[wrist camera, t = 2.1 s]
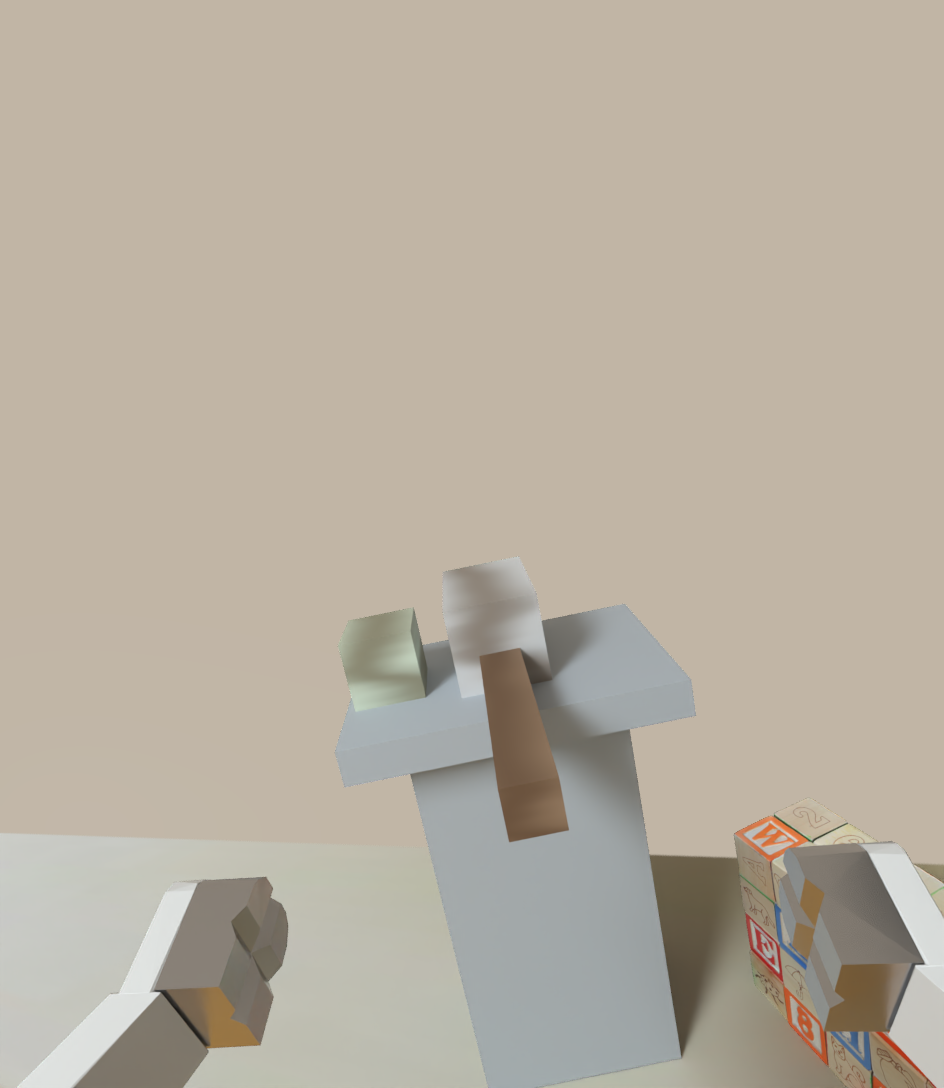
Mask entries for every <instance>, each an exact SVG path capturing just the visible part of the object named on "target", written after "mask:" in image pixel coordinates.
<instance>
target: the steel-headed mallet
mask: <svg viewBox="0 0 944 1088" xmlns="http://www.w3.org/2000/svg"><path fill="white" fill-rule="evenodd" d="M443 616H444V621H445V625H446V630H447V634H448V639H449V643H450V648H451V652H452V657H453V661H454V666H455V670H456V675H457V679H458V684H459V688H460V693H461V697H462V698H466V697H471V696H476V695H481V694H485V701H486V708H487V715H488V723H489V730H490V737H491V744H492V751H493V759H494V766H495V773H496V780H497V787H498V793H499V797H500V802H501V807H502V811H503V816H504V821H505V825H506V830H507V835H508V839H509V842H514V841H519V840H524V839H529V838H534V837H539V836H544V835H548V834H553V833H558V832H563V831H568V830H569V827H568V822H567V816H566V811H565V806H564V800H563V795H562V790H561V785H560V779H559V775H558V772H557V769H556V765H555V762H554V759H553V755H552V752H551V749H550V746H549V742H548V739H547V736H546V732H545V729H544V726H543V723H542V719H541V716H540V713H539V709H538V706H537V703H536V700H535V696H534V693H533V690H532V686H531V684H535V683H540V682H545V681H550V680H552V675H551V670H550V664H549V659H548V653H547V648H546V643H545V637H544V632H543V626H542V621H541V616H540V610H539V606H538V599H537V594H536V591H535V589H534V587H533V585H532V583H531V581H530V579H529V577H528V574H527V572H526V570H525V568H524V566H523V564H522V562H521V560H520V558H519V557H513V558H509V559H504V560H499V561H494V562H489V563H484V564H480V565H474V566H469V567H465V568H460V569H455V570H450V571H445V572H443Z"/></svg>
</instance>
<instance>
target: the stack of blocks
mask: <svg viewBox="0 0 944 1088" xmlns="http://www.w3.org/2000/svg"><path fill="white" fill-rule="evenodd" d="M734 839H735V845H736V852H737V859H738V865H739V878H740V883H741V886H740V887H741V893H742V900H743V907H744V910H745V911H746V912H745V913H746V923H747V929H748V936H749V942H750V948H751V950H750V957H751V965H752V970H753V977H754V983H755V986H756V987H757V988H758V989H759V990H760V991H761V992H762V993H763V995H764V996H765V997H766V998H767V999H768V1000H769V1001H770V1002H771V1003H772V1004H773V1005H774V1006H775V1008H776V1009H777V1010H778V1011H779V1012H780V1013H781V1014H782V1015H783V1016H784V1017H785V1018H786V1020H787V1021H788V1022H789V1024H790V1026H791V1027H792V1028H793V1029H794V1030H795V1031H796V1032H797V1033H798V1034H799V1035H800V1036H801V1038H802V1039H803V1040H804V1041H805V1042H806V1043H807V1044H808V1045H809V1046H810V1047H811V1048H812V1049H813V1051H814V1052H815V1053H816V1054H817V1055H818V1056H819V1057H820V1058H821V1059H822V1060H823V1061H824V1063H825V1064H827V1065H828V1066H829V1067H830V1069H831V1070H832V1071H833V1072H834V1073H835V1074H836V1076H837V1077H838V1078H839V1079H840V1080H841V1081H842V1082H843V1083H844V1084H845V1086H846V1087H847V1088H936V1086H935V1085H934V1084H933V1083H932V1082H931V1081H930V1080H929V1079H928V1078H927V1077H926V1076H925V1075H924V1073H923V1072H922V1071H921V1070H920V1069H919V1068H918V1067H917V1066H916V1065H915V1064H914V1063H913V1062H912V1061H911V1059H910V1058H909V1057H908V1056H907V1055H906V1054H905V1053H904V1052H903V1051H902V1050H901V1049H900V1048H899V1046H898V1045H897V1044H896V1043H895V1042H894V1041H893V1040H892V1039H891V1038H890V1037H889V1036H888V1035H889V1032H824V1031H823V1028H822V1025H821V1023H820V1020H819V1017H818V1015H817V1012H816V1009H815V1007H814V1004H813V1001H812V999H811V996H810V993H809V991H808V988H807V985H806V983H805V980H804V978H805V973H806V968H807V963H808V960H807V959H806V958H805V957H803V956H802V955H801V954H800V953H799V952H798V951H797V950H796V949H795V948H794V947H793V946H792V944H791V941H790V939H789V936H788V933H787V930H786V927H785V924H784V920H783V916H782V913H781V907H780V899H779V885H780V879H781V878H782V877H783V876H784V875H786V874H787V871H786V868H785V866H784V863H783V858H784V852H785V850H787V849H788V848H794V847H807V846H820V845H834V844H847V843H872V842H878V841H877V840H875V839H873V838H872V837H870V836H869V835H867V834H866V833H864V832H862V831H861V830H859V829H857V828H856V827H854V826H853V825H851V824H848V823H847V822H846V820H844V819H843V818H842V817H840V816H838V815H837V814H835V813H833V812H832V811H830V810H829V809H827V808H826V807H824V806H822V805H821V804H819V803H818V802H816V801H815V800H813V799H811V798H806V799H804V800H802V801H800V802H797V803H795V804H793V805H791V806H789V807H787V808H785V809H782V810H780V811H777V812H775V813H774V817H773V816H768V817H766V818H763V819H761V820H759V821H757V822H755V823H753V824H751V825H749V826H747V827H746V828H743V829H741V830H739V831H737V832H736V833H734ZM913 865H914V864H913ZM914 867H915V868H916V870H917V872H918V874H919V875H920V877H921V879H922V880H923V882H924V884H925V886H926V887H927V889H928V891H929V892H930V894H931V896H932V897H933V899H934V901H935V903H936V904H937V906H938V908H939V909H940V911H941V913H942V915H943V916H944V883H943V882H941V881H940V880H938V879H937V878H935V877H934V876H932V875H931V874H929V873H927V872H926V871H924V870H922V869H921V868H919V867H917V866H916V865H914Z"/></svg>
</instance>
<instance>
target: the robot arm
mask: <svg viewBox="0 0 944 1088" xmlns="http://www.w3.org/2000/svg"><path fill="white" fill-rule="evenodd" d="M783 863H784V866H785V868H786V871H787V874H786V875H784V876H783V877H782V878H781V879H780V885H779V899H780V907H781V913H782V916H783V920H784V924H785V927H786V930H787V933H788V936H789V939H790V941H791V944H792V946H793V947H794V948H795V949H796V950H797V951H798V952H799V953H800V954H801V955H802V956H803V957H805V958H806V959H807V960H808V963H807V968H806V973H805V978H804V980H805V983H806V985H807V988H808V991H809V993H810V996H811V999H812V1001H813V1004H814V1007H815V1009H816V1012H817V1015H818V1017H819V1020H820V1023H821V1025H822V1028H823V1031H824V1032H889V1035H888V1036H889V1037H890V1038H891V1039H892V1040H893V1041H894V1042H895V1043H896V1044H897V1045H898V1046H899V1048H900V1049H901V1050H902V1051H903V1052H904V1053H905V1054H906V1055H907V1056H908V1057H909V1058H910V1059H911V1061H912V1062H913V1063H914V1064H915V1065H916V1066H917V1067H918V1068H919V1069H920V1070H921V1071H922V1072H923V1073H924V1075H925V1076H926V1077H927V1078H928V1079H929V1080H930V1081H931V1082H932V1083H933V1084H934V1085H935V1086H936V1088H944V916H943V915H942V913H941V911H940V909H939V908H938V906H937V904H936V903H935V901H934V899H933V897H932V896H931V894H930V892H929V891H928V889H927V887H926V886H925V884H924V882H923V880H922V879H921V877H920V875H919V874H918V872H917V870H916V868H915V867H914V865H913V863H912V862H911V860H910V858H909V857H908V855H907V853H906V851H905V850H904V849H903V848H902V847H901V846H900V845H898V844H897V843H895V842H892V841H888V842H872V843H847V844H834V845H820V846H807V847H794V848H788V849H787V850H785V852H784V858H783ZM272 890H273V887H272V886H271V884H270V883H269V881H268V879H267V878H266V877H256V878H238V879H220V880H193V881H179V882H174V883H173V884H172V885H171V886H170V887H169V889H168V890H167V891H166V892H165V894H164V896H163V898H162V900H161V902H160V904H159V906H158V909H157V911H156V913H155V915H154V917H153V920H152V922H151V924H150V926H149V928H148V931H147V933H146V935H145V937H144V939H143V942H142V944H141V946H140V948H139V950H138V953H137V955H136V957H135V959H134V961H133V963H132V966H131V968H130V970H129V972H128V974H127V977H126V979H125V981H124V983H123V985H122V988H121V990H120V992H119V993H110V994H109V995H108V996H107V997H106V998H105V999H104V1000H103V1001H102V1002H101V1003H100V1004H99V1005H98V1006H97V1007H96V1008H95V1009H94V1010H93V1011H92V1012H91V1013H90V1014H89V1015H88V1016H87V1017H86V1018H85V1019H84V1020H83V1021H82V1022H81V1023H80V1024H79V1025H78V1026H77V1027H76V1028H75V1029H74V1030H73V1031H72V1032H71V1033H70V1034H69V1035H68V1036H67V1037H66V1038H65V1039H64V1040H63V1041H62V1042H61V1043H60V1044H59V1045H58V1046H57V1047H56V1048H55V1049H54V1050H53V1051H52V1052H51V1053H50V1054H49V1055H48V1056H47V1057H46V1058H45V1059H44V1060H43V1061H42V1062H41V1063H40V1064H39V1065H38V1066H37V1067H36V1068H35V1069H34V1070H33V1071H32V1072H31V1073H30V1074H29V1075H28V1076H27V1077H26V1078H25V1079H24V1080H23V1081H22V1082H21V1083H20V1084H19V1085H18V1086H17V1087H16V1088H183V1087H184V1085H185V1084H186V1083H187V1081H188V1080H189V1079H190V1077H191V1076H192V1074H193V1073H194V1072H195V1070H196V1069H197V1068H198V1066H199V1065H200V1063H201V1062H202V1061H203V1059H204V1058H205V1057H206V1055H207V1054H208V1050H207V1048H223V1047H241V1046H259V1045H261V1041H262V1037H263V1034H264V1030H265V1026H266V1023H267V1019H268V1015H269V1012H270V1008H271V1004H272V1001H273V994H272V991H271V988H270V985H269V982H268V981H269V980H270V979H271V978H272V977H273V976H274V974H275V973H276V972H277V971H278V970H279V969H280V967H281V966H282V963H283V959H284V955H285V951H286V947H287V937H288V922H287V916H286V912H285V910H284V908H283V906H282V904H281V903H279V902H277V901H275V900H274V899H272V898H270V897H271V893H272Z"/></svg>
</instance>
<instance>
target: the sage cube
mask: <svg viewBox="0 0 944 1088" xmlns="http://www.w3.org/2000/svg"><path fill="white" fill-rule="evenodd" d="M338 647H339V651H340V655H341V659H342V662H343V667H344V670H345V674H346V678H347V682H348V686H349V689H350V693H351V697H352V701H353V705H354V708H355V712H357V711H362V710H367V709H372V708H377V707H382V706H387V705H391V704H396V703H401V702H406V701H411V700H416V699H421V698H426V688H427V671H428V667H427V663H426V659H425V654H424V650H423V646H422V642H421V638H420V633H419V629H418V624H417V620H416V616H415V611H414V608H409V609H404V610H399V611H394V612H390V613H384V614H379V615H374V616H369V617H365V618H360V619H355V620H350V621H348V623H347V626H346V628H345V630H344V633H343V635H342V638H341V640H340V642H339V645H338Z"/></svg>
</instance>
